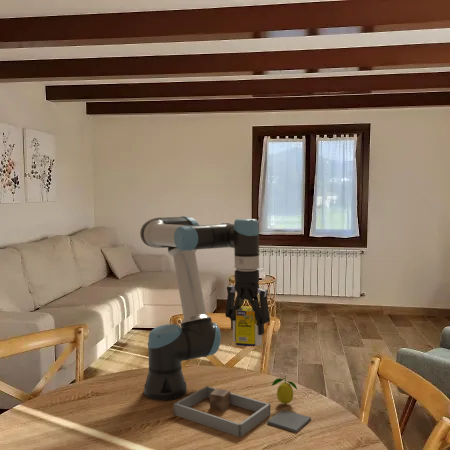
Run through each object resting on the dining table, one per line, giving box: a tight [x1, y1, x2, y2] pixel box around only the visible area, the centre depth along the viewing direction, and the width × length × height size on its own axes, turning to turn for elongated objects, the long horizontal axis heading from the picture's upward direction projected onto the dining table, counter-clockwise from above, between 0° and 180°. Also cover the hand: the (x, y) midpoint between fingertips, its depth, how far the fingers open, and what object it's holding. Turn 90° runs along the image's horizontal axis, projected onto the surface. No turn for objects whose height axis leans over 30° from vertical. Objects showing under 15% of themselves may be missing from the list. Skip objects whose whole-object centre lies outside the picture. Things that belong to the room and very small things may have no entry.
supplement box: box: [235, 305, 257, 347], centre depth 153 cm, size 6×6×11 cm
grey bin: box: [173, 385, 271, 438], centre depth 159 cm, size 26×18×4 cm
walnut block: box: [209, 387, 231, 412], centre depth 165 cm, size 5×5×5 cm
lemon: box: [271, 375, 298, 406], centre depth 166 cm, size 7×6×10 cm
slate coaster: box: [266, 409, 312, 433], centre depth 154 cm, size 10×10×1 cm
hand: (247, 342), depth 153 cm, fingers closed on supplement box, 7 cm apart
